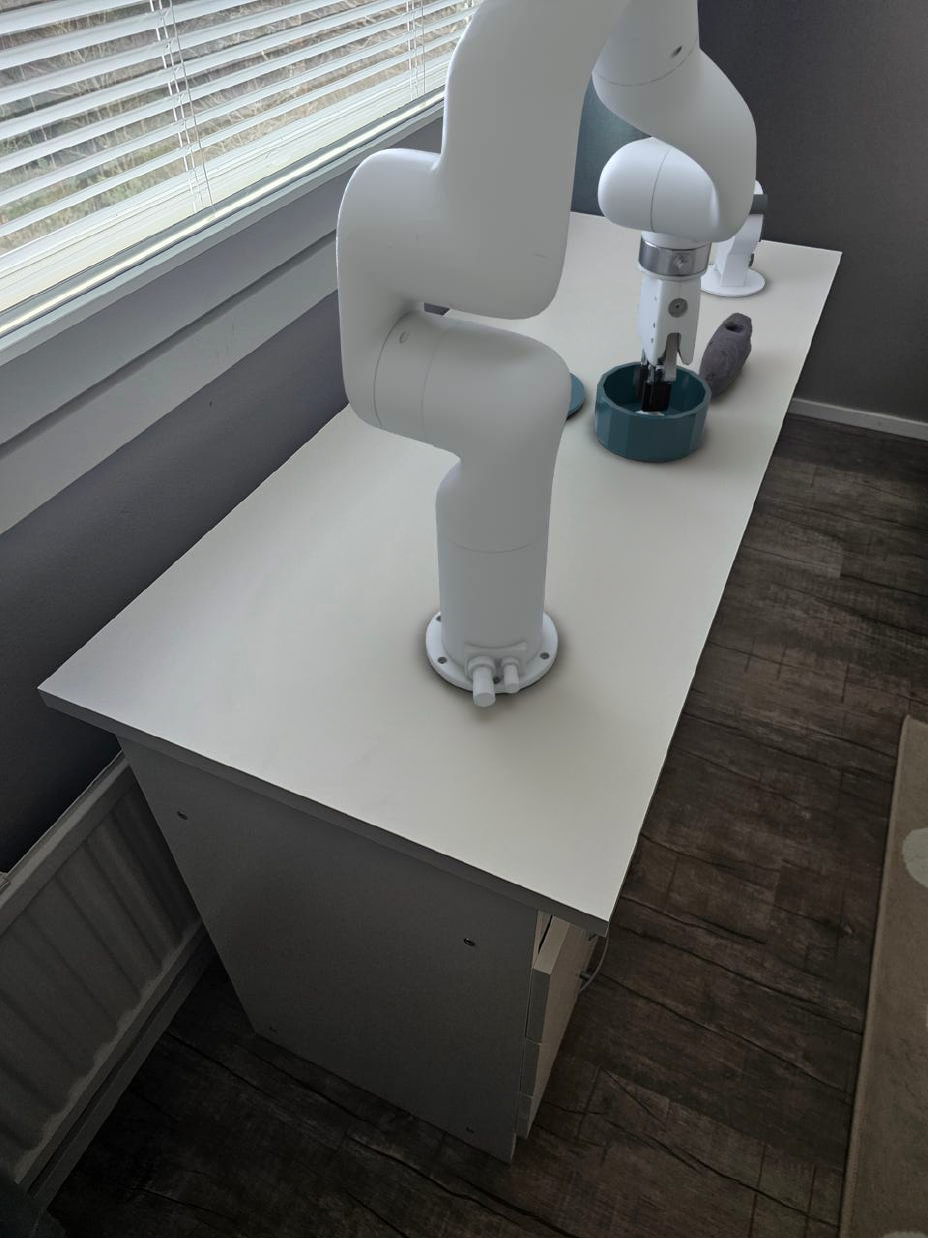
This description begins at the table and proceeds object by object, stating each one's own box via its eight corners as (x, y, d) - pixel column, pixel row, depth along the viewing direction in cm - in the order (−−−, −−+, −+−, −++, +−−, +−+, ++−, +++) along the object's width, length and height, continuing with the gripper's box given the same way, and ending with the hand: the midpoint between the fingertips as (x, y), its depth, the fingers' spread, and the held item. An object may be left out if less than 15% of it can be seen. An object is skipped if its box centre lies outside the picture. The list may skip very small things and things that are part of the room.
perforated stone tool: (719, 412, 114) (729, 363, 109) (680, 402, 116) (688, 353, 111) (753, 361, 123) (764, 314, 118) (716, 353, 125) (725, 305, 120)
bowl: (713, 459, 107) (723, 416, 102) (602, 464, 106) (607, 420, 102) (688, 401, 116) (696, 359, 112) (586, 405, 116) (590, 362, 112)
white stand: (772, 298, 137) (796, 196, 127) (698, 298, 138) (716, 197, 127) (756, 265, 146) (777, 168, 135) (686, 266, 146) (702, 168, 136)
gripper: (727, 283, 90) (697, 439, 103) (692, 223, 101) (668, 370, 114) (654, 286, 90) (632, 441, 103) (626, 225, 101) (610, 372, 114)
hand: (651, 403), depth 108 cm, fingers closed
